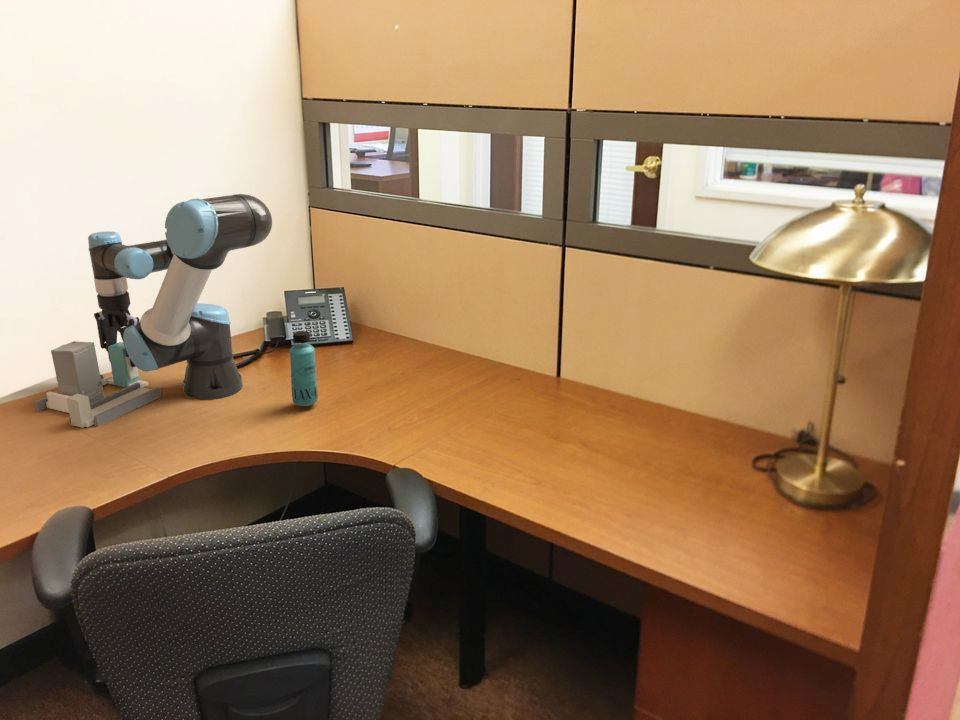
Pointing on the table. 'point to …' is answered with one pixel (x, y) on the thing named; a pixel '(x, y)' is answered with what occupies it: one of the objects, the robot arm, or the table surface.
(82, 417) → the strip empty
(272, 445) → the table surface
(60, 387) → the skincare box
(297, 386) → the beverage bottle
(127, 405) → the lane bed
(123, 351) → the white and teal frame
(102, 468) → the table surface
